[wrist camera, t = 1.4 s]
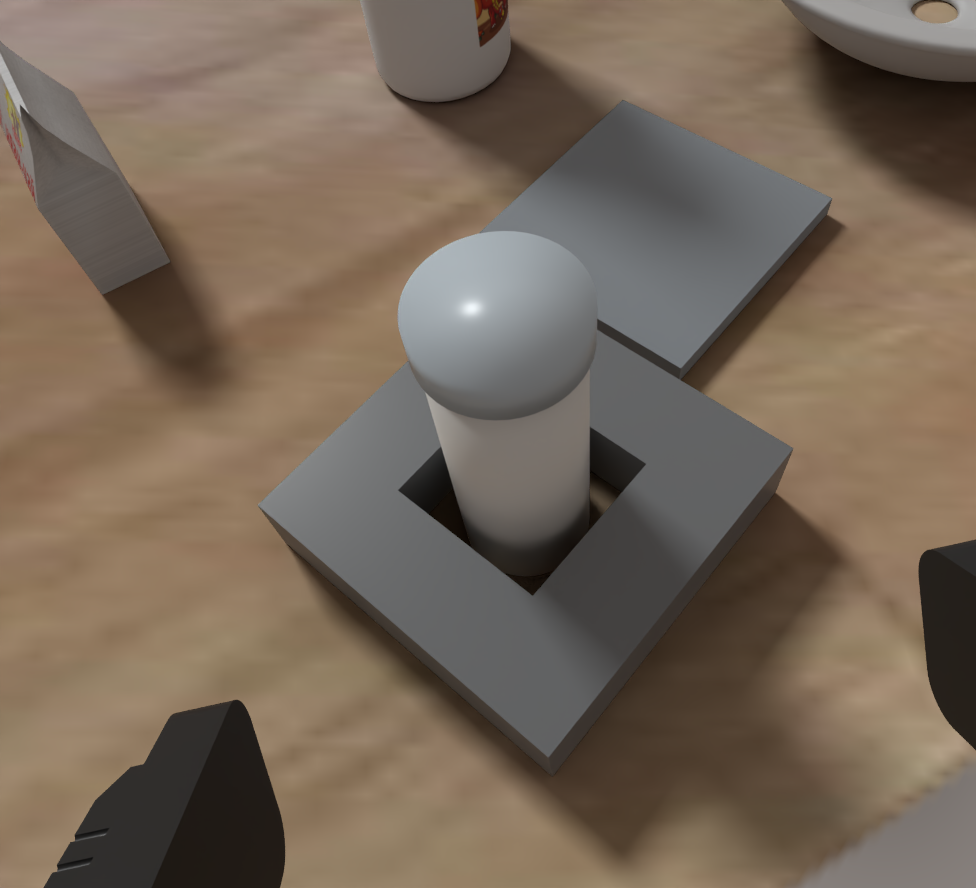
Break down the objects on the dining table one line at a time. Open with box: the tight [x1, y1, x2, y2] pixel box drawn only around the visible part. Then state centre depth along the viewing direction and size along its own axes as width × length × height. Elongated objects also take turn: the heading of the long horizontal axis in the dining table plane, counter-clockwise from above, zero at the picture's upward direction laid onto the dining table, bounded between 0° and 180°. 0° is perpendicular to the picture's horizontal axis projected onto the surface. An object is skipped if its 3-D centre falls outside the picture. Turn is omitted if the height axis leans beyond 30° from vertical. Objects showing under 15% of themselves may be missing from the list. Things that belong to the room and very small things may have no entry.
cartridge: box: [398, 231, 597, 576], centre depth 30 cm, size 5×5×14 cm
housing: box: [258, 330, 793, 777], centre depth 34 cm, size 14×14×4 cm
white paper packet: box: [0, 42, 170, 295], centre depth 41 cm, size 4×7×10 cm, turn 30°
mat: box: [479, 100, 832, 380], centre depth 42 cm, size 12×12×1 cm
